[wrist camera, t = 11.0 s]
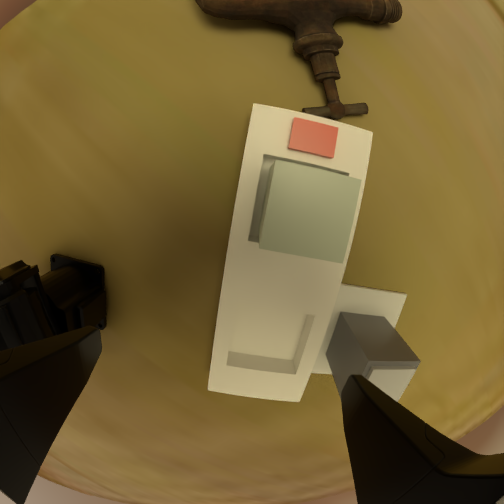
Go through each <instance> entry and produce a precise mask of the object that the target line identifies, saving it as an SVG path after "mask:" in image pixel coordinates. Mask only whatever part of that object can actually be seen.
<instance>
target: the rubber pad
mask: <svg viewBox="0 0 504 504" xmlns="http://www.w3.org/2000/svg"><path fill="white" fill-rule="evenodd" d="M406 297H407V294H406V293H401V292H394V291H388V290H381V289H375V288H368V287H362V286H355V285H349V284H343V283H341V285H340V289H339V292H338V296H337V299H336V302H335V305H334V309H333V312H332V315H331V318H330V321H329V324H328V327H327V330H326V333H325V336H324V339H323V342H322V345H321V347H320V350H319V353H318V356H317V358H316V361H315V364H314V366H313V369H312V372H311V373H320V374H332V372H331V369H330V366H329V363H328V360H327V357H326V355H325V354H326V351H327V349H328V346H329V343H330V340H331V338H332V335H333V332H334V329H335V326H336V323H337V320H338V317H339V314H340V311H341V312H349V313H357V314H365V315H374V316H383V317H385V318H386V319H387V320H388V322H389V323H390V324H391V325H392V326H393V328H395V326H396V323H397V321H398V318H399V316H400V313H401V310H402V308H403V305H404V302H405V299H406Z"/></svg>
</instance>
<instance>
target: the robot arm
mask: <svg viewBox="0 0 504 504" xmlns="http://www.w3.org/2000/svg"><path fill="white" fill-rule="evenodd" d="M54 258H55V259H54ZM55 260H56V261H55ZM50 261H51V271H50V272H48V273H46V274H44V275H43V276H41V277H40V276H39V273H38V272H39V269H38V266H37V265H35V266H31V267H30V265H26V264H25V263H24V262H23V261H22V260H20V261H18V262H15V263H13V264H11V265H9V266H7V267H4V268H2V269H1V270H0V491H1V492H2V493H4V494H5V495H6V496H7V497H9V498H10V499H11V500H12V501H14V502H15V503H16V504H24V503H25V500H26V498H27V496H28V493H29V491H30V489H31V487H32V484H33V482H34V480H35V478H36V476H37V474H38V472H39V470H40V466H41V465H42V463H43V461H44V459H45V457H46V455H47V453H48V451H49V449H50V447H51V445H52V443H53V442H54V440H55V438H56V436H57V434H58V432H59V430H60V429H61V427H62V425H63V423H64V421H65V420H66V418H67V416H68V414H69V412H70V411H71V409H72V407H73V406H74V404H75V402H76V400H77V399H78V397H79V395H80V394H81V392H82V390H83V389H84V387H85V385H86V384H87V382H88V379H89V377H90V375H91V373H92V371H93V369H94V367H95V364H96V362H97V360H98V358H99V356H100V354H101V351H102V343H101V335H100V330H103V329H104V328H105V327H106V294H105V290H104V269H103V267H102V266H101V265H98V264H94V263H90V262H86V261H82V260H78V259H74V258H70V257H66V256H62V255H59V254H53V255H51V258H50ZM97 269H98V270H99V272H100V273H99V272H98V271H97ZM100 323H101V324H102V325H101V324H100ZM99 329H100V330H99ZM341 403H342V413H343V424H344V432H345V437H346V442H347V447H348V452H349V457H350V462H351V468H352V473H353V479H354V484H355V490H356V496H357V502H358V504H504V453H501V454H494V455H480V454H477V453H475V452H473V451H471V450H469V449H467V448H465V447H464V446H462V445H460V444H458V443H456V442H455V441H453V440H451V439H450V438H448V437H446V436H445V435H443V434H441V433H440V432H438V431H437V430H435V429H434V428H432V427H431V426H430V425H428V424H427V423H425V422H424V421H423V420H421V419H420V418H419V417H417V416H416V415H414V414H413V413H412V412H410V411H409V410H408V409H406V408H405V407H403V406H402V405H401V404H399V403H398V402H397V401H395V400H394V399H393V398H391V397H390V396H389V395H387V394H386V393H385V392H383V391H382V390H381V389H379V388H378V387H377V386H375V385H374V384H373V383H371V382H370V381H369V380H367V379H366V378H365V377H364V376H362V375H360V374H351V375H350V376H349V377H348V379H347V381H346V383H345V385H344V387H343V389H342V392H341Z"/></svg>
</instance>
